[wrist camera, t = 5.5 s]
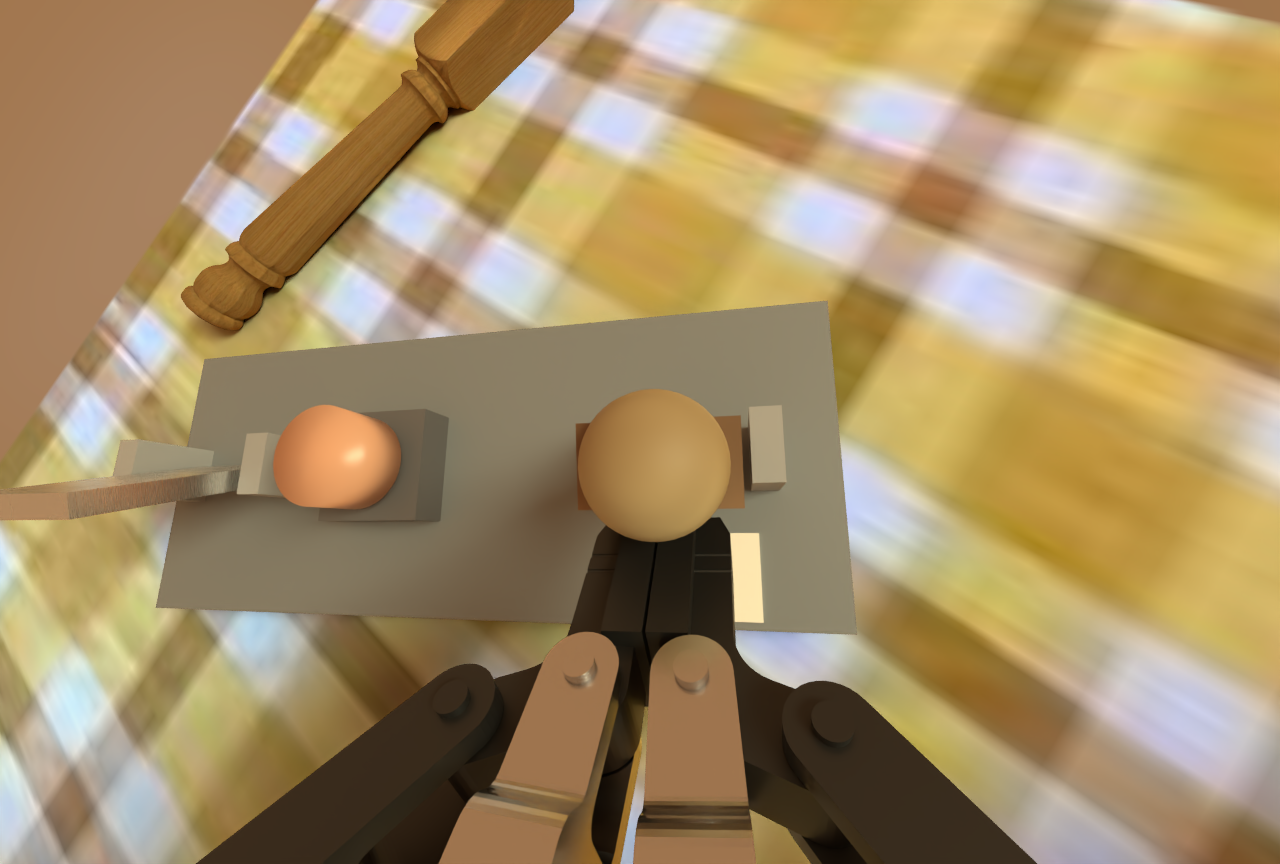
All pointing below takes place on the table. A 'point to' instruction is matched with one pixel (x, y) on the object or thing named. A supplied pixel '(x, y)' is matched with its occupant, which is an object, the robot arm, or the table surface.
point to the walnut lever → (658, 465)
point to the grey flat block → (115, 493)
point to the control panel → (509, 471)
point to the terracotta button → (336, 459)
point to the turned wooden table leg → (376, 146)
